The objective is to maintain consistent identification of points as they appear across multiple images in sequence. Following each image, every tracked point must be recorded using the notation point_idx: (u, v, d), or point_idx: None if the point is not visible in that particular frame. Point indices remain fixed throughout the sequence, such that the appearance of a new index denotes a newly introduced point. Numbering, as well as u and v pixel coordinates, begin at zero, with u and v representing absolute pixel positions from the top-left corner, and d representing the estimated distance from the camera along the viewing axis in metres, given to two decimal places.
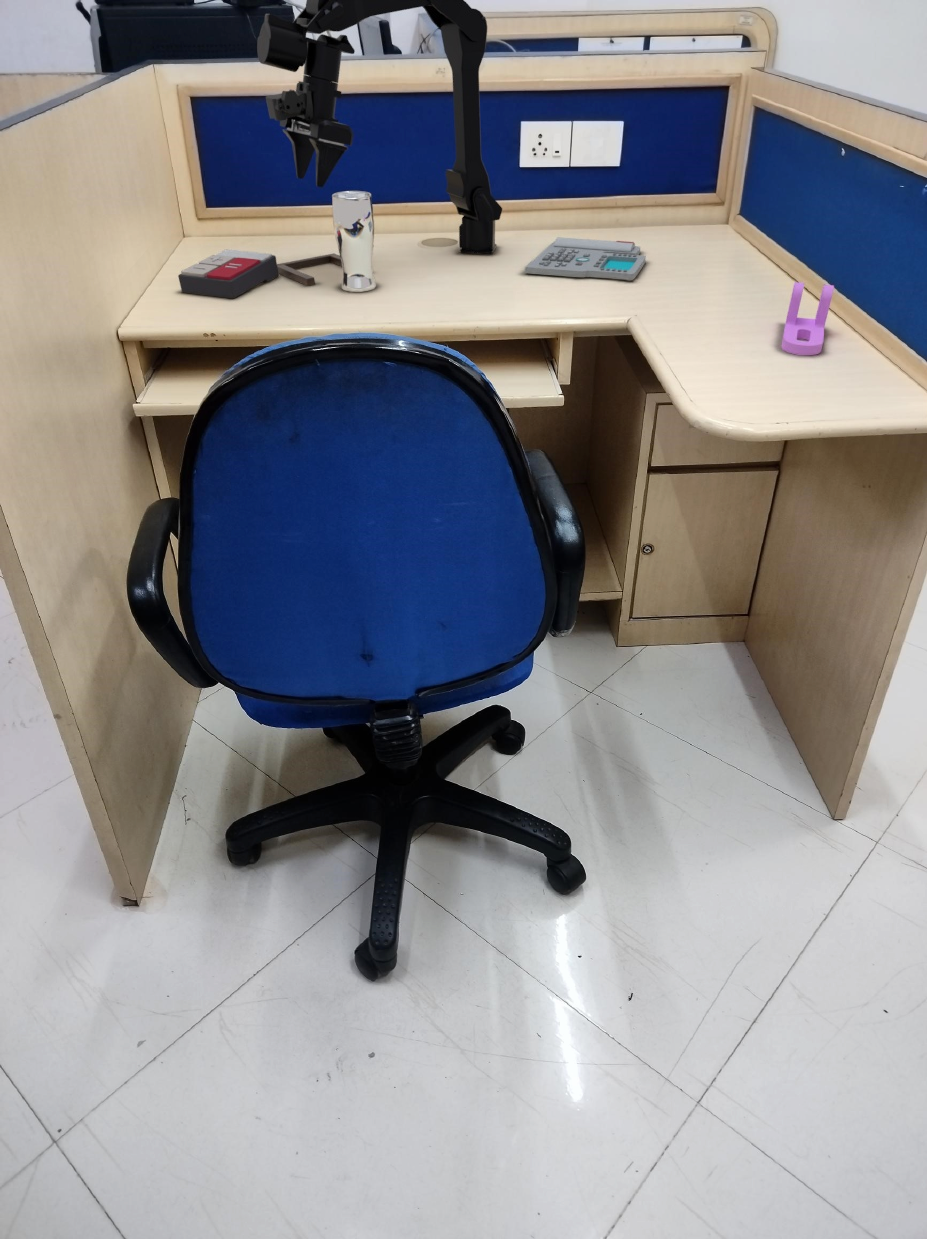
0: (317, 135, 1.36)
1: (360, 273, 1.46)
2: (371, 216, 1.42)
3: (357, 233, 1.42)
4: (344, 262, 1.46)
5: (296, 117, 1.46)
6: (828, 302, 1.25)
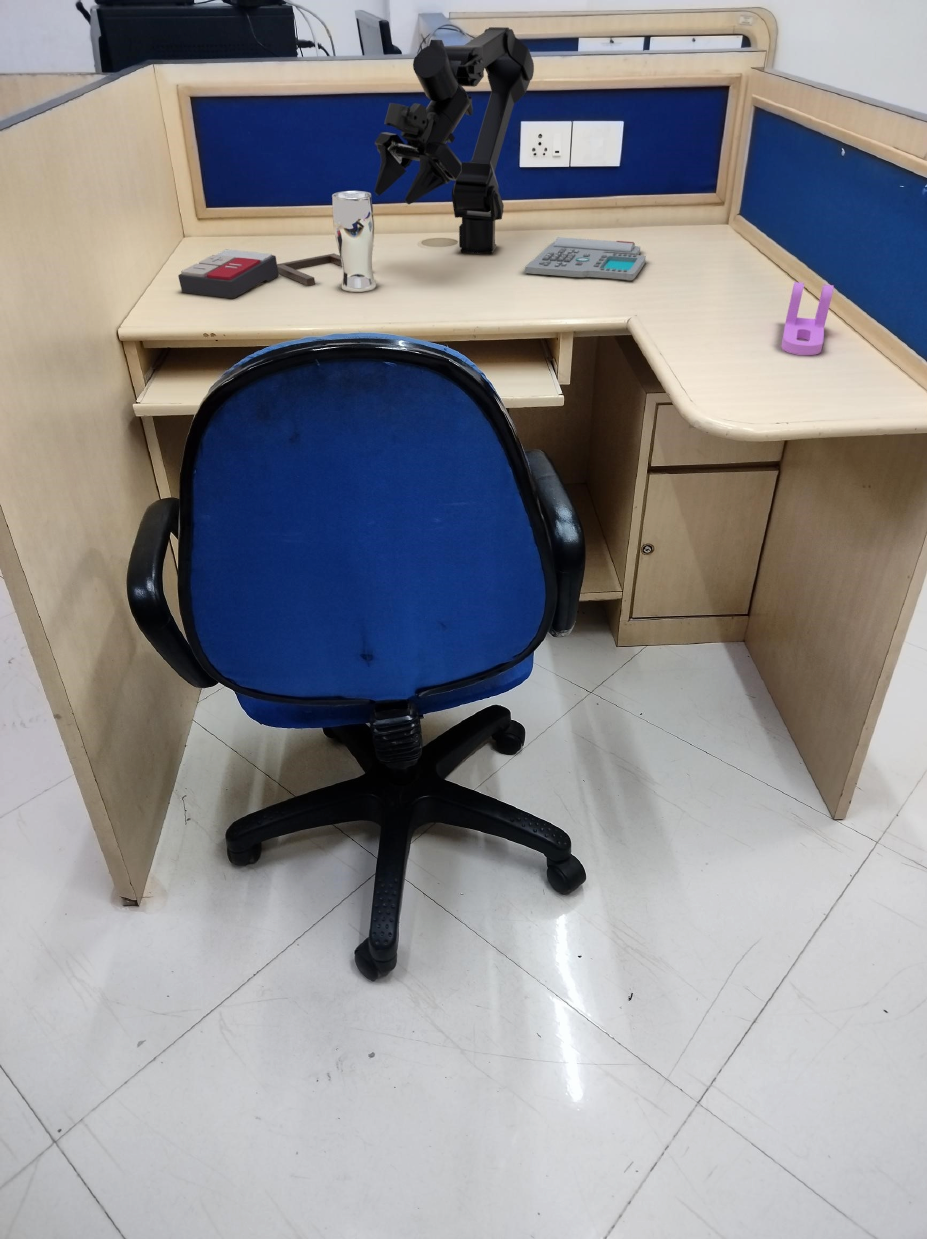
0: (435, 152, 1.38)
1: (360, 273, 1.46)
2: (371, 216, 1.42)
3: (357, 233, 1.42)
4: (344, 262, 1.46)
5: (396, 141, 1.48)
6: (828, 302, 1.25)
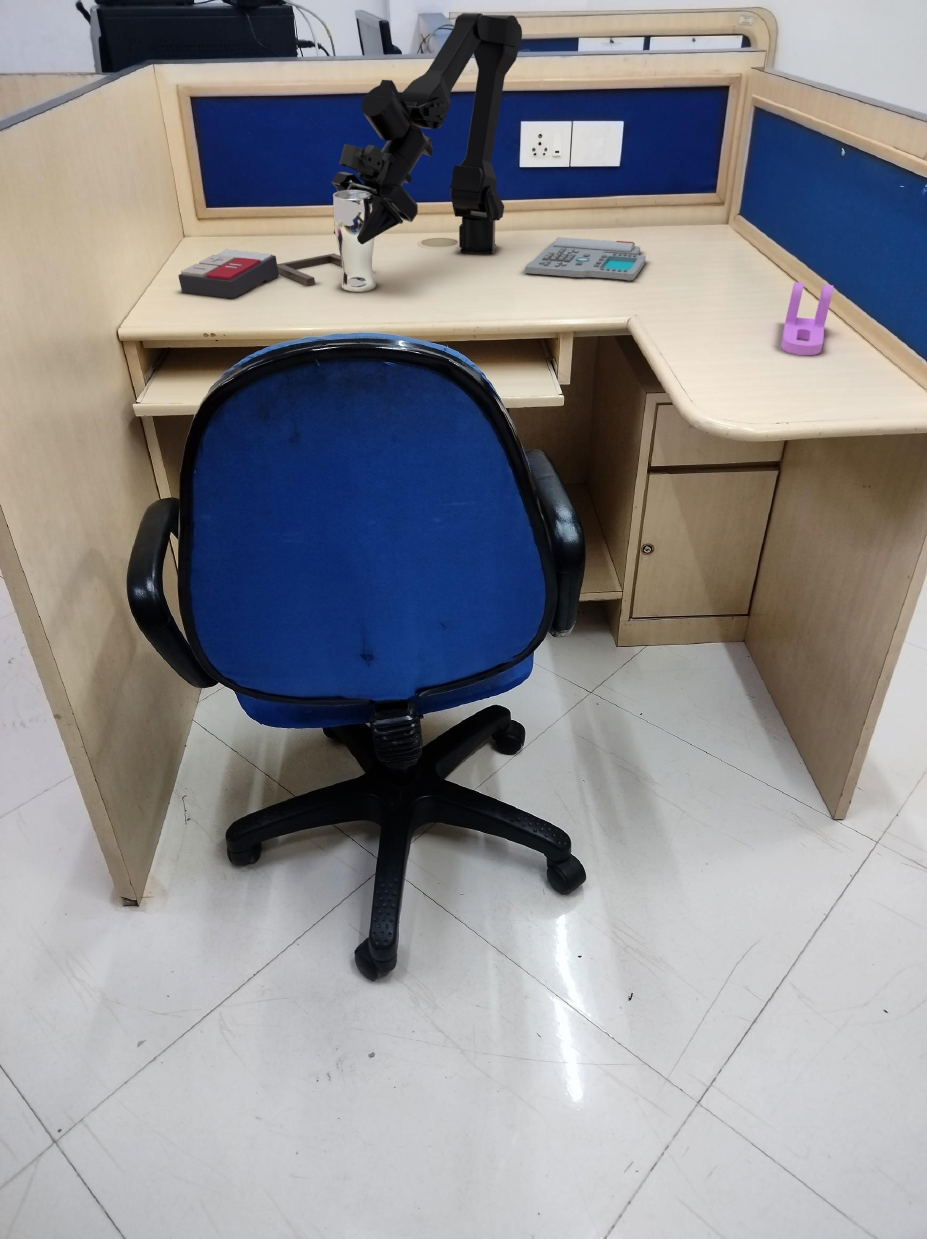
0: (389, 194, 1.36)
1: (360, 273, 1.46)
2: None
3: (357, 234, 1.41)
4: (344, 262, 1.46)
5: (353, 181, 1.46)
6: (828, 302, 1.25)
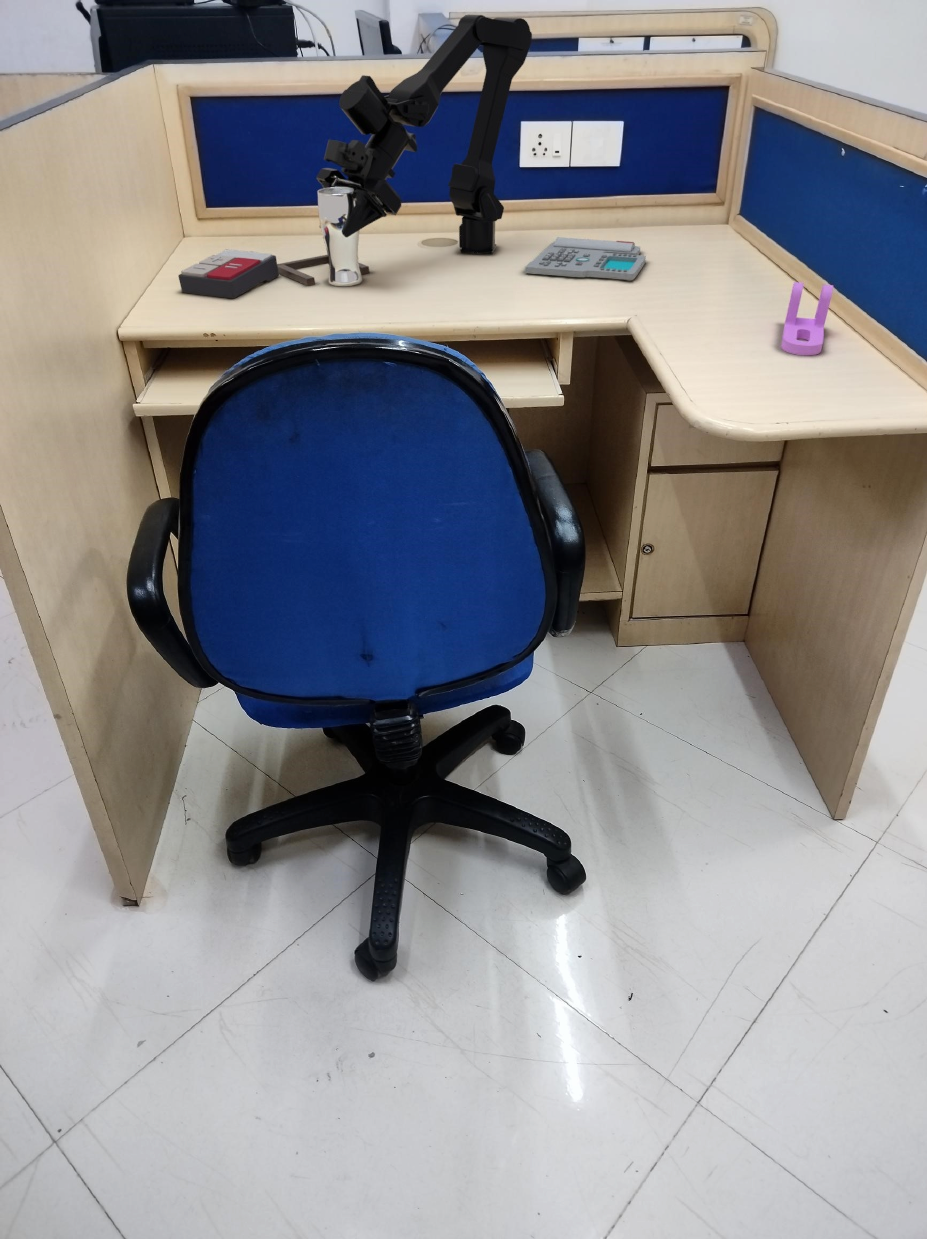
0: (373, 188, 1.39)
1: (346, 267, 1.49)
2: None
3: (341, 228, 1.44)
4: (330, 257, 1.49)
5: (338, 177, 1.49)
6: (828, 302, 1.25)
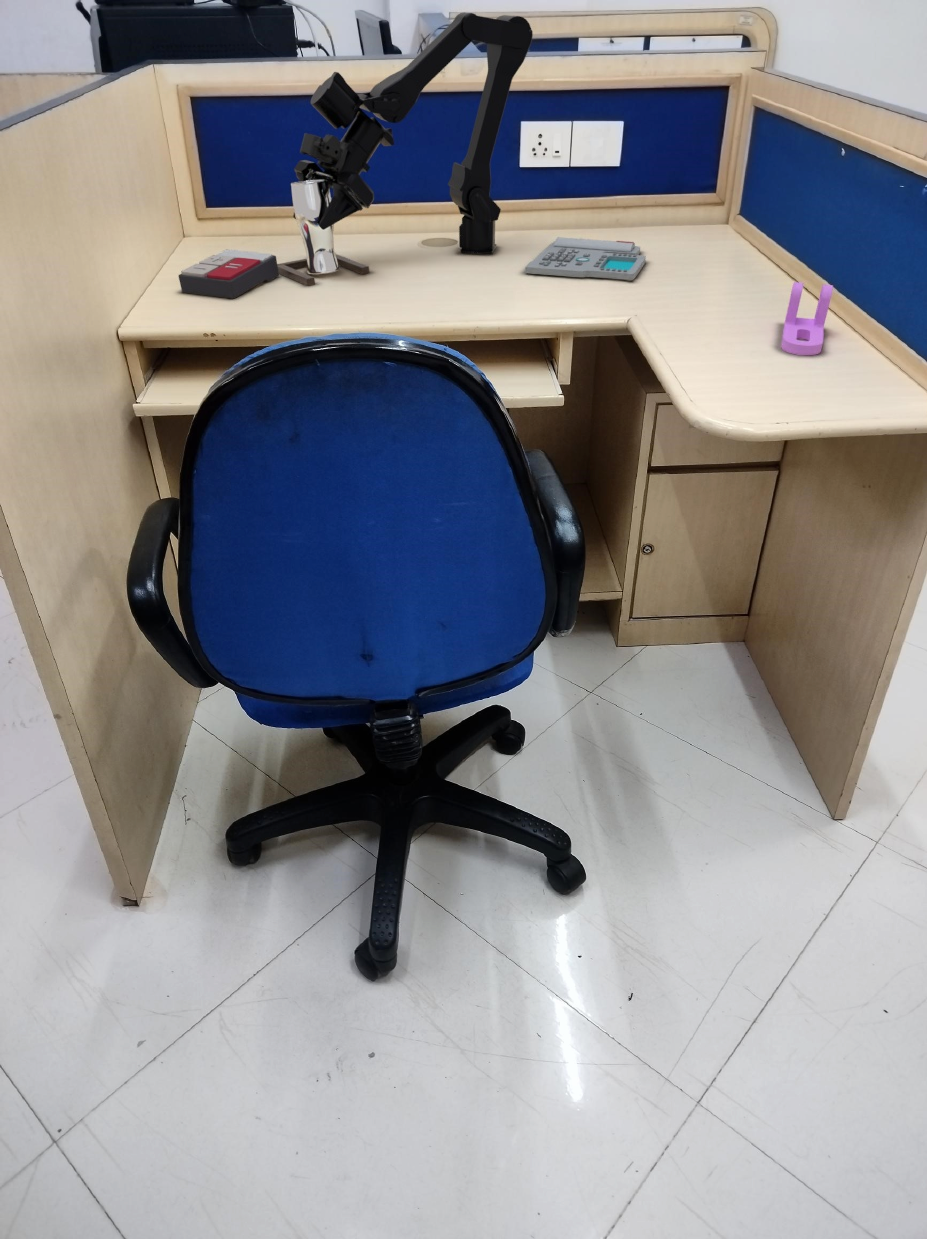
0: (346, 181, 1.44)
1: (321, 255, 1.53)
2: (327, 200, 1.50)
3: (314, 216, 1.49)
4: (306, 246, 1.53)
5: (315, 169, 1.54)
6: (827, 302, 1.25)
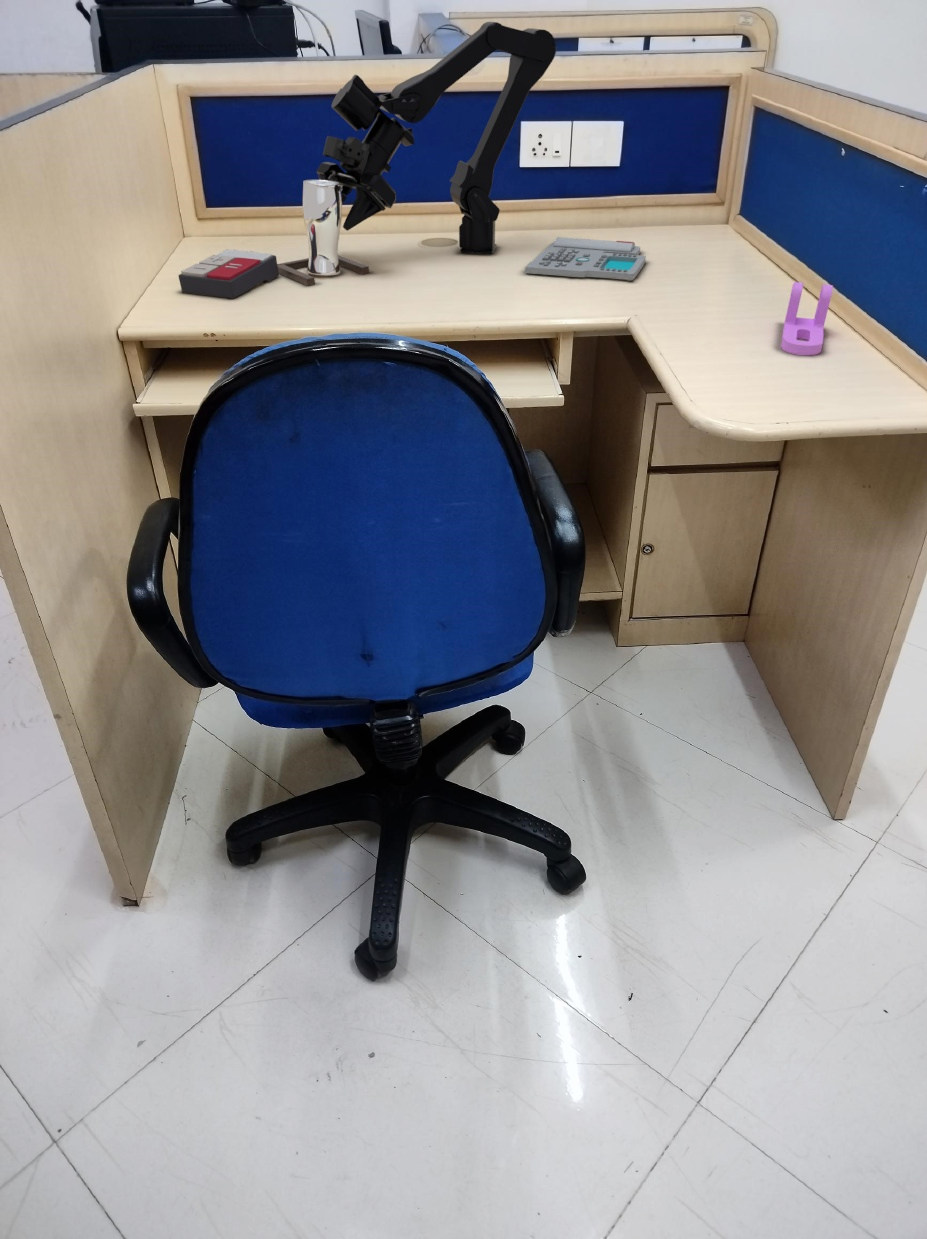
0: (369, 183, 1.46)
1: (325, 257, 1.53)
2: (338, 204, 1.50)
3: (323, 218, 1.49)
4: (310, 246, 1.53)
5: (337, 170, 1.56)
6: (827, 302, 1.25)
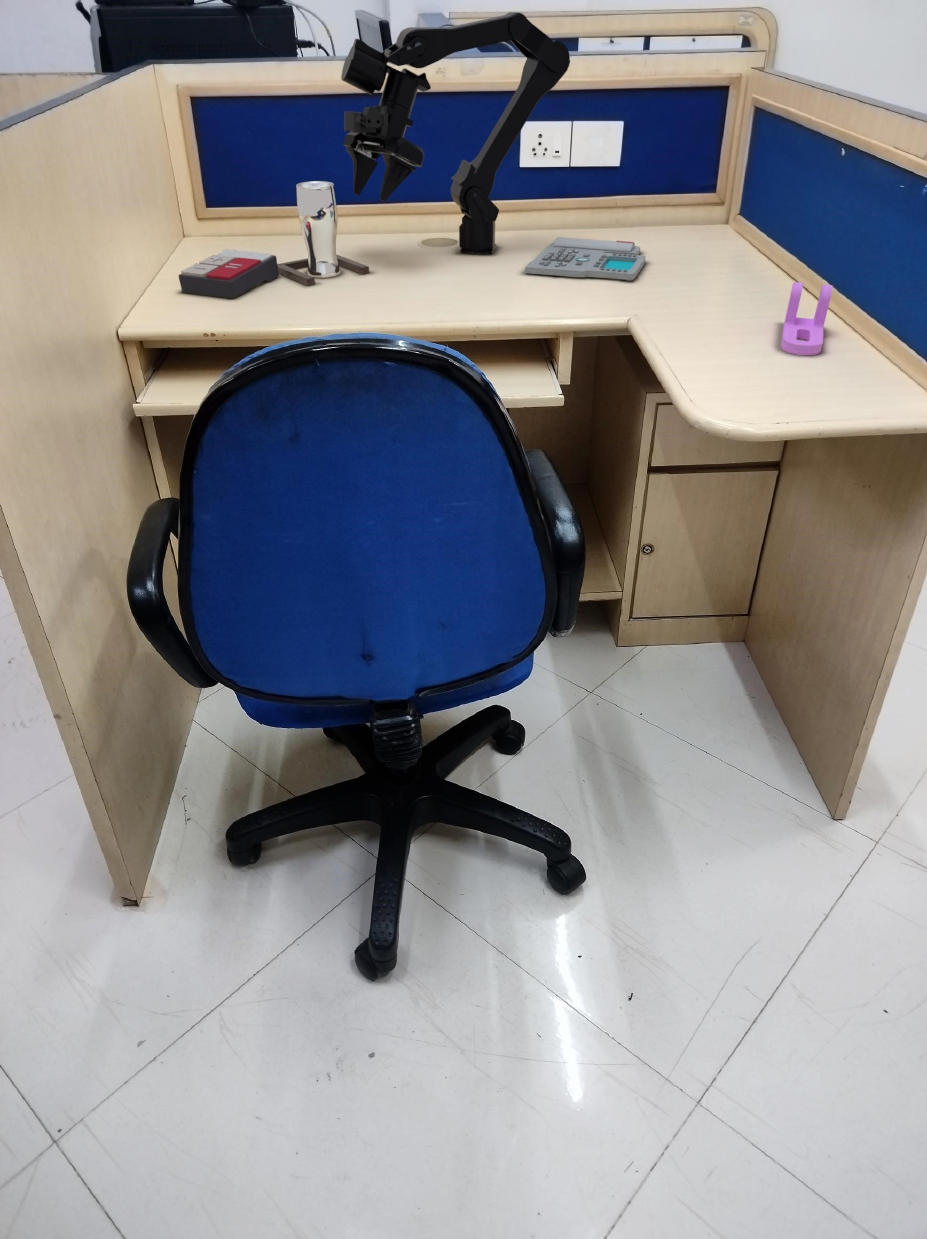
0: (394, 150, 1.46)
1: (324, 259, 1.53)
2: (333, 205, 1.49)
3: (319, 221, 1.49)
4: (308, 249, 1.53)
5: (362, 139, 1.56)
6: (827, 302, 1.25)
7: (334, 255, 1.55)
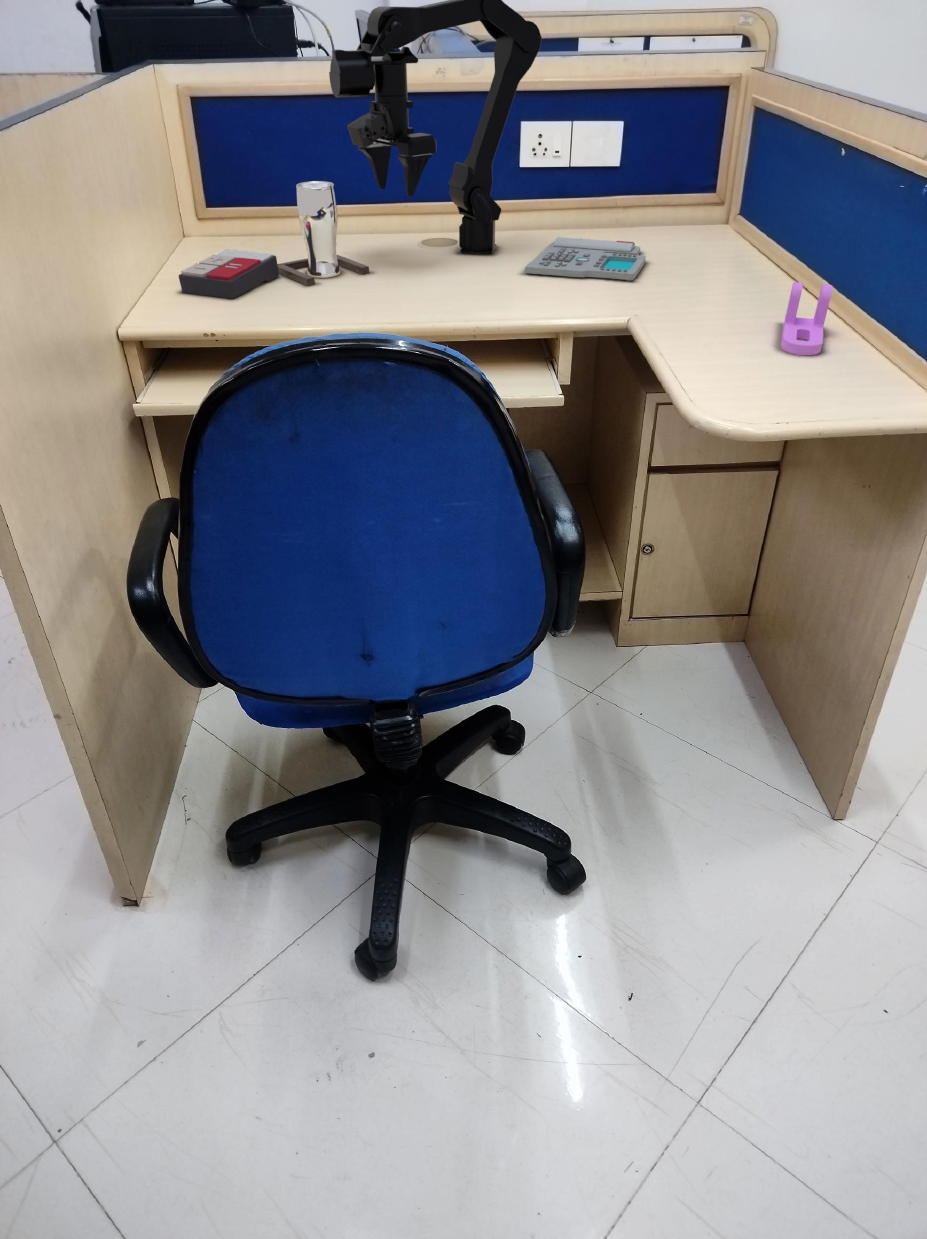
0: (408, 153, 1.46)
1: (324, 259, 1.53)
2: (333, 205, 1.49)
3: (319, 221, 1.49)
4: (308, 249, 1.53)
5: None
6: (827, 302, 1.25)
7: (334, 255, 1.55)
